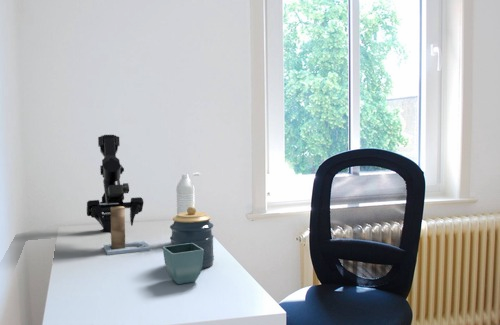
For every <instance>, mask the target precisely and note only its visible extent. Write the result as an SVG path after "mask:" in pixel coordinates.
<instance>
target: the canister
mask: <svg viewBox="0 0 500 325" xmlns="http://www.w3.org/2000/svg"><path fill="white" fill-rule="evenodd" d="M211 218H212V217H211V216H210V215H208V214H207V213H206V212H202V211H197V209H196V207H195V206H194V207H193V206H190V207H188V209H187V212H184V213H179V214H177V213H176V215H175V216H174V217H173V218H172V221H173V223H172V224H171V225H170V226H169V228H170V230H171V235H170V237H169V238H170V239H169V240H170V246H173V245H180V244H187V243H194V244H195V245H197V246H199V247H200V248H202V249H204V253H203V263H202V269H207V268H209V267H212V265H214V260H215V255H214V234H213V230H212V229H213V228H214V224H213V223H212V222H211V221H210V220H211ZM202 269H201V270H202Z"/></svg>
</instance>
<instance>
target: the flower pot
mask: <svg viewBox="0 0 500 325" xmlns="http://www.w3.org/2000/svg"><path fill="white" fill-rule="evenodd" d="M162 252H163V260H164V265H165V268H166V271H167V272H168V273H167V274H168V275H169V276H170V279H172V281H173V282H174V283H176V284H177V285H182V284H187V283H193V282H196V281H197V279H198V278H199V276H200V274H201V272H202V263H203V253H204V249H202V248H200V247H199V246H197V245H195V244H194V243H187V244H180V245H173V246H171V245H167V246H162Z"/></svg>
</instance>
